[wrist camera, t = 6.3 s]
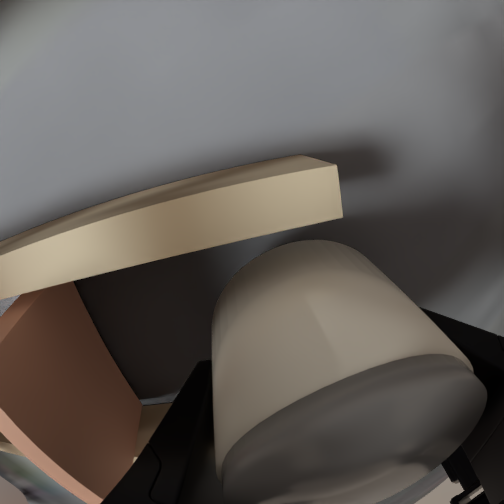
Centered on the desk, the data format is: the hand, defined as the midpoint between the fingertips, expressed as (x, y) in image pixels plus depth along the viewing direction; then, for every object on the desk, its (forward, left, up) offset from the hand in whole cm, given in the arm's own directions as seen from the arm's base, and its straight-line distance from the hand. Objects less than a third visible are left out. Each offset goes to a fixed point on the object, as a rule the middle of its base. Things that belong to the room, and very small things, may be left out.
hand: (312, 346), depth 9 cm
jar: (0, 0, -1) cm, 1 cm away
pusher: (+11, -7, -2) cm, 13 cm away
